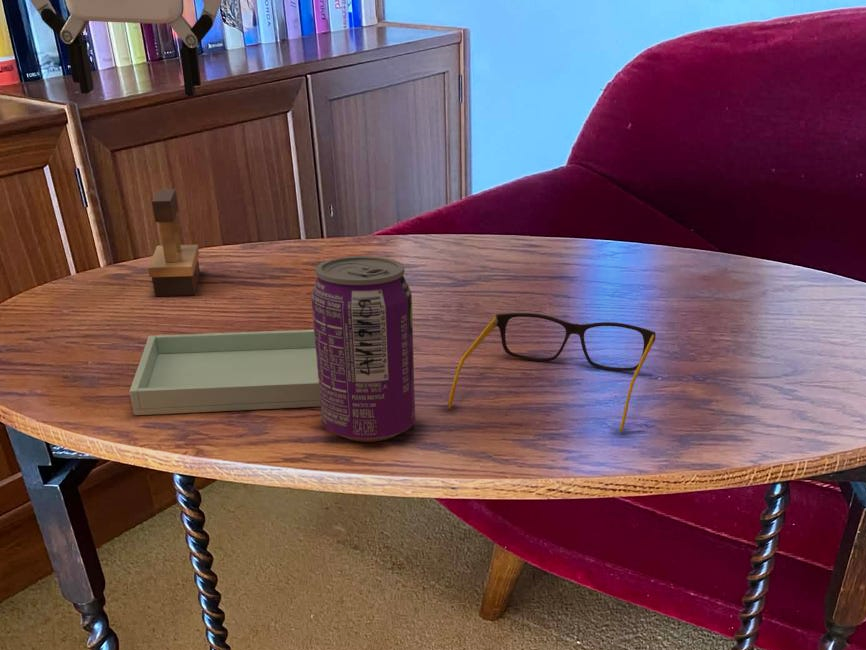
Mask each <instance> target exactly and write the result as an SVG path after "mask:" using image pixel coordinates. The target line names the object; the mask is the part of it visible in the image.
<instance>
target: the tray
mask: <svg viewBox="0 0 866 650" xmlns="http://www.w3.org/2000/svg"><path fill="white" fill-rule="evenodd" d="M128 393H129V397H130V401H131V406H132V411H133V416H148V415H149V416H151V415H170V414H193V413H211V412H215V413H216V412H229V411H230V412H235V411H252V410H253V411H254V410H276V409H294V408H296V409H297V408H319V407H321V403H320V391H319V380H318V368H317V357H316V345H315V334H314V329H292V330H271V331H270V330H265V331H263V330H262V331H238V332H237V331H235V332H212V333H210V332H209V333H208V332H207V333H184V334H183V333H182V334H180V333H179V334H157V335H156V334H155V335H148V337H147V340H146V343H145V346H144V348H143V352H142V354H141V357H140V360H139V363H138V367H137V368H136V371H135V374H134V376H133V380H132V383H131V385H130V389H129V392H128Z"/></svg>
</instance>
